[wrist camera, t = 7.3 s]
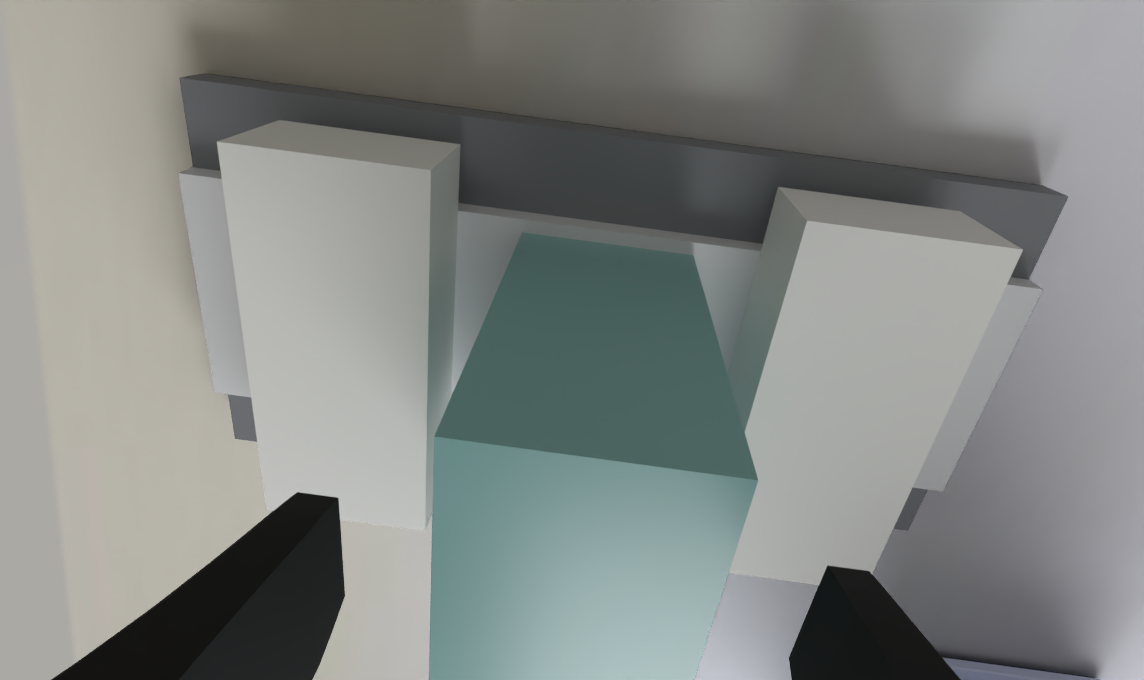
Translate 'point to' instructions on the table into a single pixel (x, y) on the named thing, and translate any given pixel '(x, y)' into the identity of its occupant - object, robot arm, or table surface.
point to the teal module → (586, 474)
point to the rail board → (612, 216)
